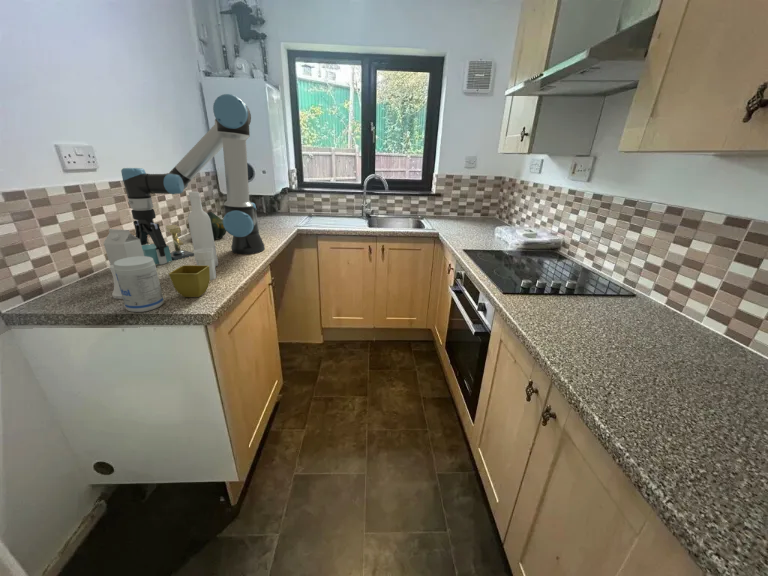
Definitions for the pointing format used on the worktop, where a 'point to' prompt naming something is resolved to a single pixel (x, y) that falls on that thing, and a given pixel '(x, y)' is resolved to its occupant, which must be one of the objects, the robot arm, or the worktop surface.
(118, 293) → the salt shaker
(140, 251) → the milk carton
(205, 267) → the flower pot
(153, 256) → the teal block
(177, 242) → the key
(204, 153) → the robot arm
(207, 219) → the bottle
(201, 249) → the cup
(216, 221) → the squash
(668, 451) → the worktop surface
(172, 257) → the plate
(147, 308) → the supplement tub
